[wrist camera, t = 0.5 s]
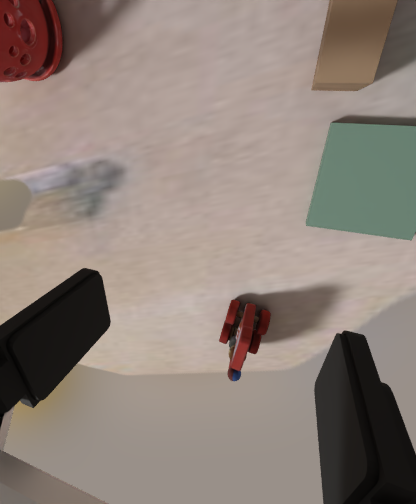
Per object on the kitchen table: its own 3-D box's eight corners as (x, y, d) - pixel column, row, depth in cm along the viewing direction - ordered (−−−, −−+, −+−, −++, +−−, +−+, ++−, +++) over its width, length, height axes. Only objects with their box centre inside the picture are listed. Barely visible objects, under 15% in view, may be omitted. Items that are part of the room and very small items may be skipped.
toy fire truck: (220, 335, 48) (204, 383, 39) (235, 287, 42) (219, 332, 33) (254, 348, 47) (246, 400, 38) (275, 301, 40) (270, 350, 32)
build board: (330, 122, 27) (332, 122, 26) (459, 128, 24) (466, 128, 23) (305, 222, 33) (306, 225, 32) (407, 236, 30) (411, 240, 29)
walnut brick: (332, -13, 23) (343, -51, 18) (386, -17, 22) (415, -59, 17) (311, 90, 27) (315, 82, 21) (356, 90, 25) (372, 83, 20)
